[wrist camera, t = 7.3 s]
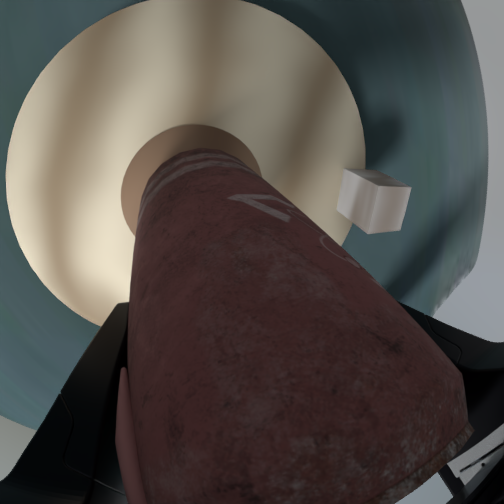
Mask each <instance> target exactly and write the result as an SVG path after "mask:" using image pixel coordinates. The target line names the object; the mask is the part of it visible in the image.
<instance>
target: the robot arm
mask: <svg viewBox="0 0 504 504" xmlns="http://www.w3.org/2000/svg"><path fill="white" fill-rule="evenodd" d="M397 302H398V301H397ZM398 303H399V304H400V305H401V306H402V307H403V308H404V309H405V310H406V312H407V313H408V314H409V315H410V316H411V317H412V318H413V319H414V320H415V321H416V322H417V323H418V324H419V325H420V326H421V328H422V329H423V330H424V331H425V332H426V333H427V334H428V335H429V336H430V337H431V339H432V340H433V341H434V342H435V343H436V344H437V345H438V346H439V348H440V349H441V350H442V351H443V352H444V353H445V355H446V356H447V357H448V358H449V359H450V360H451V362H452V363H453V364H454V365H455V366H456V367H457V369H458V370H459V371H460V372H461V373H462V376H463V382H464V389H465V396H466V404H467V413H468V422H469V423H470V425H471V426H472V427H473V429H474V430H475V431H474V432H473V433H472V435H471V436H470V438H469V439H468V440H467V442H466V443H465V445H464V446H463V447H462V448H461V450H460V451H459V452H458V453H457V454H456V455H455V456H454V457H453V458H452V459H450V460H449V461H448V462H447V463H446V464H445V465H444V466H443V467H442V468H441V469H440V470H439V471H438V473H439V475H440V477H441V478H442V480H443V481H444V483H445V484H446V486H447V487H448V489H449V490H450V492H451V494H452V495H453V498H452V499H451V500H450V501H449V502H447V503H446V504H504V342H501V343H500V342H499V343H497V342H490V341H487V340H484V339H482V338H479V337H477V336H474V335H472V334H469V333H467V332H464V331H462V330H459V329H457V328H454V327H452V326H450V325H447V324H445V323H443V322H441V321H438V320H436V319H434V318H432V317H430V316H428V315H425V314H424V313H422V312H420V311H417V310H415V309H413V308H411V307H409V306H407V305H405V304H403V303H401V302H398ZM128 313H129V302H122V303H118V304H116V306H115V307H114V309H113V310H112V311H111V313H110V314H109V316H108V317H107V319H106V320H105V322H104V323H103V325H102V326H101V328H100V329H99V330H98V332H97V333H96V335H95V336H94V338H93V340H92V341H91V343H90V344H89V346H88V347H87V349H86V350H85V352H84V353H83V355H82V357H81V358H80V360H79V361H78V363H77V365H76V366H75V368H74V370H73V371H72V373H71V374H70V376H69V378H68V379H67V381H66V383H65V385H64V386H63V388H62V390H61V394H59V395H58V396H57V398H56V400H55V402H54V404H53V405H52V407H51V409H50V410H49V412H48V414H47V416H46V417H45V419H44V421H43V422H42V424H41V425H40V427H39V428H38V430H37V432H36V433H35V435H34V436H33V438H32V439H31V441H30V442H29V444H28V446H27V447H26V449H25V450H24V452H23V453H22V455H21V457H20V458H19V460H18V461H17V463H16V465H15V466H14V468H13V469H12V471H11V472H10V473H9V474H8V476H6V477H5V478H4V479H3V480H1V481H0V504H128V502H127V498H126V494H125V490H124V486H123V481H122V477H121V472H120V467H119V462H118V456H117V450H116V444H115V434H116V416H117V403H118V392H119V382H120V373H121V369H122V368H123V367H125V368H126V369H127V373H128Z"/></svg>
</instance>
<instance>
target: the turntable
mask: <svg viewBox="0 0 504 504" xmlns="http://www.w3.org/2000/svg"><path fill="white" fill-rule="evenodd" d="M197 148H207V149H217V150H222V151H224V152H226V153H228V154H230V155H232V156H235V157H237V158H238V159H240V160H241V161H242V162H243V163H245V164H246V165H247V166H248V167H250V168H251V169H252V170H253V171H255V172H256V173H257V174H258V175H259V176H261V177H262V178H263V179H264V180H266V181H267V182H268V183H269V184H270V185H272V186H273V187H274V188H275V189H276V190H278V191H279V192H280V193H281V194H282V195H283V196H285V197H286V198H287V199H288V200H289V201H291V202H292V203H293V204H294V205H295V206H296V207H297V208H299V209H300V210H301V211H302V212H303V213H304V214H305V215H307V216H308V217H309V218H310V219H311V220H312V221H313V222H315V223H316V224H317V225H318V226H319V227H320V228H321V229H322V230H323V231H325V232H326V233H327V234H328V235H329V236H330V237H331V238H332V239H333V240H334V241H335V242H337V243H338V244H339V245H340V246H341V245H342V244H343V242H344V240H345V238H346V236H347V234H348V232H349V230H350V228H351V225H352V223H354V224H355V225H357V226H358V227H359V228H361V229H362V230H363V231H364V232H366V233H367V234H372V233H380V232H389V231H398V230H400V229H401V225H402V222H403V218H404V214H405V211H406V207H407V203H408V199H409V195H410V191H411V187H409V186H408V185H406V184H404V183H402V182H400V181H398V180H396V179H394V178H392V177H390V176H388V175H386V174H383V173H381V172H379V171H377V170H367V169H365V142H364V134H363V127H362V123H361V119H360V115H359V111H358V108H357V105H356V102H355V100H354V97H353V95H352V93H351V90H350V88H349V86H348V84H347V82H346V80H345V79H344V77H343V75H342V74H341V72H340V70H339V69H338V67H337V66H336V64H335V63H334V62H333V61H332V59H331V58H330V57H329V56H328V54H327V53H326V52H325V51H324V50H323V49H322V47H321V46H320V45H319V44H318V43H316V42H315V41H314V40H313V39H312V38H311V37H310V36H309V35H308V34H306V33H305V32H304V31H303V30H302V29H300V28H299V27H297V26H296V25H294V24H293V23H291V22H290V21H288V20H286V19H285V18H283V17H282V16H280V15H278V14H276V13H274V12H271V11H269V10H267V9H265V8H262V7H260V6H258V5H255V4H252V3H248V2H245V1H241V0H149V1H145V2H141V3H137V4H135V5H132V6H129V7H127V8H124V9H122V10H120V11H117V12H115V13H112V14H110V15H108V16H107V17H105V18H103V19H101V20H100V21H98V22H96V23H95V24H93V25H92V26H90V27H88V28H87V29H85V30H84V31H82V32H81V33H80V34H79V35H78V36H76V37H75V38H74V39H73V40H72V41H70V42H69V43H68V44H67V45H66V46H65V47H64V48H62V49H61V50H60V51H59V52H58V54H57V55H56V56H55V57H54V58H53V59H52V60H51V61H50V63H49V64H48V65H47V66H46V67H45V69H44V70H43V71H42V72H41V74H40V75H39V77H38V78H37V80H36V81H35V83H34V85H33V86H32V88H31V90H30V91H29V93H28V95H27V96H26V98H25V100H24V103H23V105H22V107H21V110H20V112H19V114H18V117H17V119H16V122H15V125H14V128H13V132H12V136H11V140H10V144H9V149H8V156H7V167H6V191H7V202H8V208H9V212H10V217H11V222H12V226H13V228H14V231H15V234H16V237H17V239H18V242H19V245H20V247H21V249H22V251H23V253H24V255H25V257H26V258H27V260H28V262H29V264H30V266H31V267H32V269H33V270H34V271H35V273H36V274H37V275H38V277H39V278H40V280H41V281H42V282H43V283H44V285H45V286H46V287H47V288H48V289H49V290H50V291H51V292H52V293H53V294H54V295H55V296H56V297H57V298H58V299H59V300H60V301H62V302H63V303H64V304H65V305H67V306H68V307H69V308H70V309H72V310H73V311H74V312H76V313H77V314H79V315H81V316H82V317H84V318H85V319H87V320H89V321H90V322H92V323H94V324H97V325H99V326H102V325H103V323H104V322H105V320H106V319H107V317H108V316H109V314H110V313H111V311H112V310H113V309H114V307H115V306H116V304H118V303H122V302H129V295H130V282H131V270H132V260H133V251H134V243H135V235H136V228H137V221H138V215H139V209H140V203H141V197H142V194H143V192H144V189H145V187H146V184H147V182H148V179H149V178H150V177H151V175H152V174H153V173H154V172H155V171H156V170H157V168H158V167H159V166H160V165H161V164H162V163H163V162H165V161H166V160H168V159H170V158H171V157H173V156H175V155H176V154H178V153H180V152H184V151H188V150H193V149H197Z"/></svg>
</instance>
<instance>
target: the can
mask: <svg viewBox="0 0 504 504" xmlns="http://www.w3.org/2000/svg"><path fill="white" fill-rule="evenodd" d="M474 431H475V430H474V429H473V427H472V426H471V425H470V423H469V422H468V413H467V404H466V396H465V389H464V382H463V376H462V373H461V372H460V371H459V370H458V369H457V367H456V366H455V365H454V364H453V363H452V362H451V360H450V359H449V358H448V357H447V356H446V355H445V353H444V352H443V351H442V350H441V349H440V348H439V346H438V345H437V344H436V343H435V342H434V341H433V340H432V339H431V337H430V336H429V335H428V334H427V333H426V332H425V331H424V330H423V329H422V328H421V326H420V325H419V324H418V323H417V322H416V321H415V320H414V319H413V318H412V317H411V316H410V315H409V314H408V313H407V312H406V310H405V309H404V308H403V307H402V306H401V305H400V304H399V303H398V302H397V301H396V300H395V299H394V298H393V297H392V296H391V295H390V294H389V293H388V292H387V291H386V290H385V289H384V288H383V287H382V286H381V285H380V284H379V283H378V282H377V281H376V280H375V279H374V278H373V277H372V276H371V275H370V274H369V273H368V272H367V271H366V270H365V269H364V268H363V267H362V266H361V265H360V264H359V263H358V262H357V261H356V260H355V259H354V258H353V257H351V256H350V255H349V254H348V253H347V252H346V251H345V250H344V249H343V248H342V247H341V246H340V245H339V244H338V243H337V242H335V241H334V240H333V239H332V238H331V237H330V236H329V235H328V234H327V233H326V232H325V231H323V230H322V229H321V228H320V227H319V226H318V225H317V224H316V223H315V222H313V221H312V220H311V219H310V218H309V217H308V216H307V215H305V214H304V213H303V212H302V211H301V210H300V209H299V208H297V207H296V206H295V205H294V204H293V203H292V202H291V201H289V200H288V199H287V198H286V197H285V196H283V195H282V194H281V193H280V192H279V191H278V190H276V189H275V188H274V187H273V186H272V185H270V184H269V183H268V182H267V181H266V180H264V179H263V178H262V177H261V176H259V175H258V174H257V173H256V172H255V171H253V170H252V169H251V168H250V167H248V166H247V165H246V164H245V163H243V162H242V161H241V160H240V159H238V158H237V157H235V156H232V155H230V154H228V153H226V152H224V151H222V150H217V149H207V148H197V149H193V150H188V151H184V152H180V153H178V154H176V155H175V156H173V157H171V158H170V159H168V160H166V161H165V162H163V163H162V164H161V165H160V166H159V167H158V168H157V170H156V171H155V172H154V173H153V174H152V175H151V177H150V178H149V179H148V182H147V184H146V187H145V189H144V192H143V194H142V197H141V203H140V209H139V215H138V221H137V228H136V235H135V243H134V251H133V260H132V270H131V282H130V295H129V313H128V373H127V369H126V368H125V367H123V368H122V369H121V373H120V382H119V392H118V403H117V416H116V434H115V444H116V450H117V456H118V462H119V467H120V472H121V477H122V481H123V486H124V490H125V494H126V498H127V502H128V504H395V503H396V502H398V501H399V500H401V499H402V498H404V497H405V496H407V495H408V494H410V493H411V492H413V491H414V490H415V489H417V488H418V487H420V486H421V485H422V484H423V483H424V482H426V481H427V480H428V479H429V478H431V477H432V476H433V475H434V474H435V473H436V472H438V471H439V470H440V469H441V468H442V467H443V466H444V465H445V464H446V463H447V462H448V461H449V460H450V459H452V458H453V457H454V456H455V455H456V454H457V453H458V452H459V451H460V450H461V448H462V447H463V446H464V445H465V443H466V442H467V440H468V439H469V438H470V436H471V435H472V433H473V432H474Z"/></svg>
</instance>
